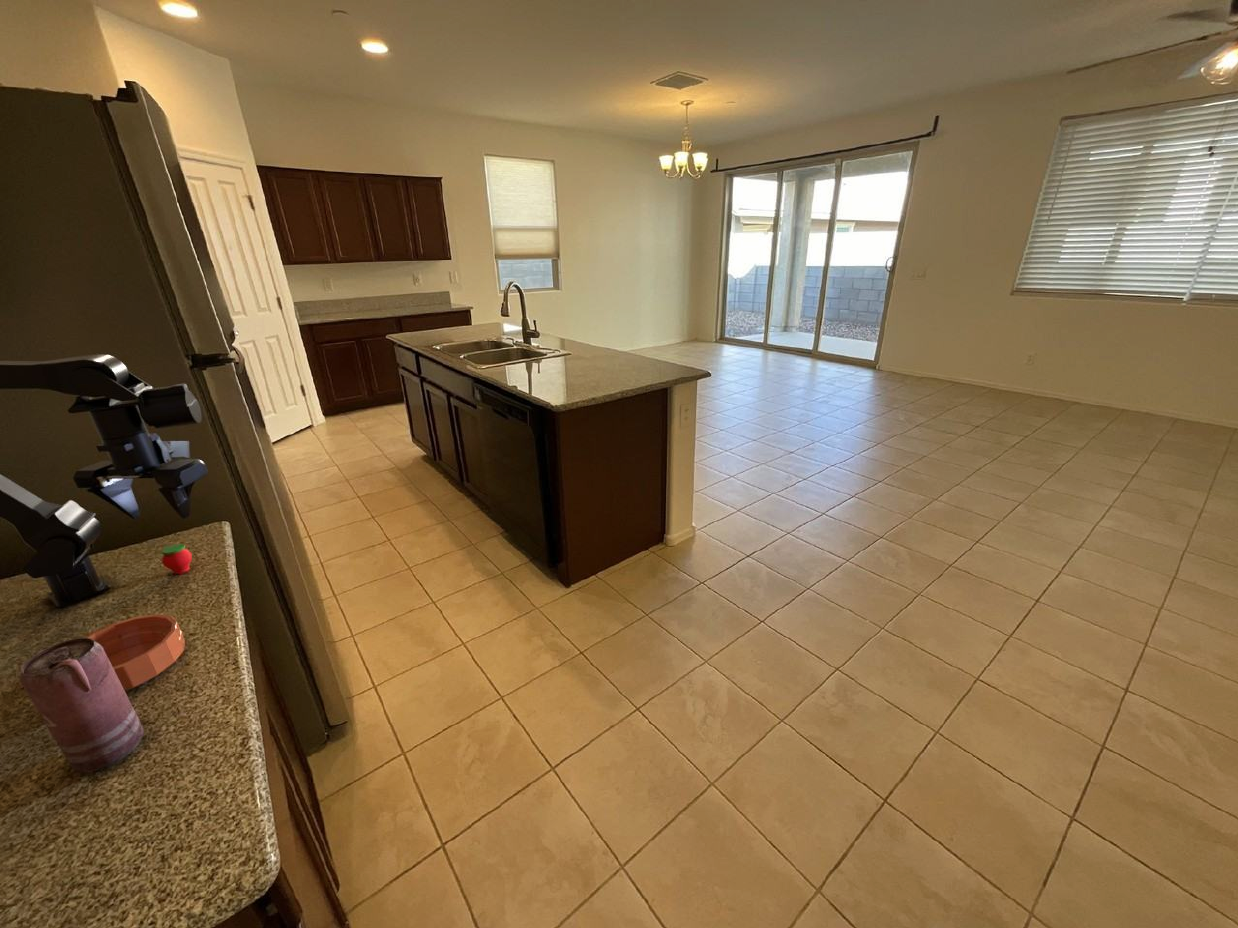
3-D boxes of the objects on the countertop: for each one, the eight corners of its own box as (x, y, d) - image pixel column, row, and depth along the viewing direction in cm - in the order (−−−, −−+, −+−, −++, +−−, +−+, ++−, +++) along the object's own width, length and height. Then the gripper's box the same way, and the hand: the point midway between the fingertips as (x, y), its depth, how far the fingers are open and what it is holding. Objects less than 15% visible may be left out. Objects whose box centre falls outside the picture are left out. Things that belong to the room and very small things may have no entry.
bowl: (55, 678, 68) (41, 654, 67) (166, 626, 78) (156, 604, 76) (85, 717, 62) (70, 691, 61) (201, 656, 72) (191, 632, 70)
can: (103, 779, 55) (46, 681, 49) (58, 769, 56) (-2, 672, 51) (160, 732, 60) (115, 638, 55) (118, 723, 61) (70, 631, 56)
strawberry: (164, 572, 92) (154, 550, 90) (190, 562, 95) (181, 540, 93) (173, 579, 90) (163, 556, 88) (199, 568, 93) (191, 546, 91)
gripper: (217, 417, 89) (246, 496, 95) (119, 420, 90) (153, 497, 96) (160, 438, 79) (196, 526, 85) (51, 441, 80) (94, 527, 86)
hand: (161, 517), depth 88 cm, fingers open, 9 cm apart
